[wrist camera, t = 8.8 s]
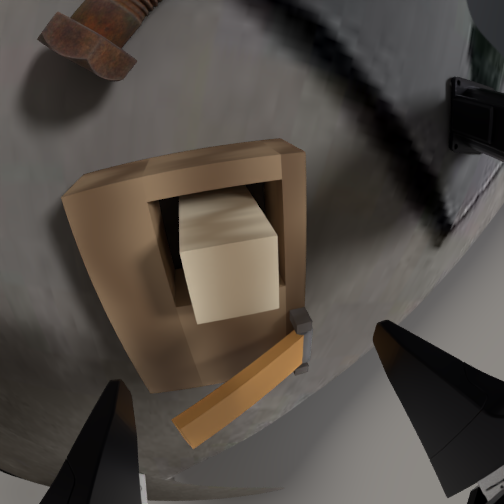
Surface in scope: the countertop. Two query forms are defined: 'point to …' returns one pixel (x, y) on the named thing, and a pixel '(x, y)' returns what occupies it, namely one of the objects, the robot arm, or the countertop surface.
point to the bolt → (98, 35)
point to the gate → (243, 389)
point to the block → (173, 280)
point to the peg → (227, 254)
